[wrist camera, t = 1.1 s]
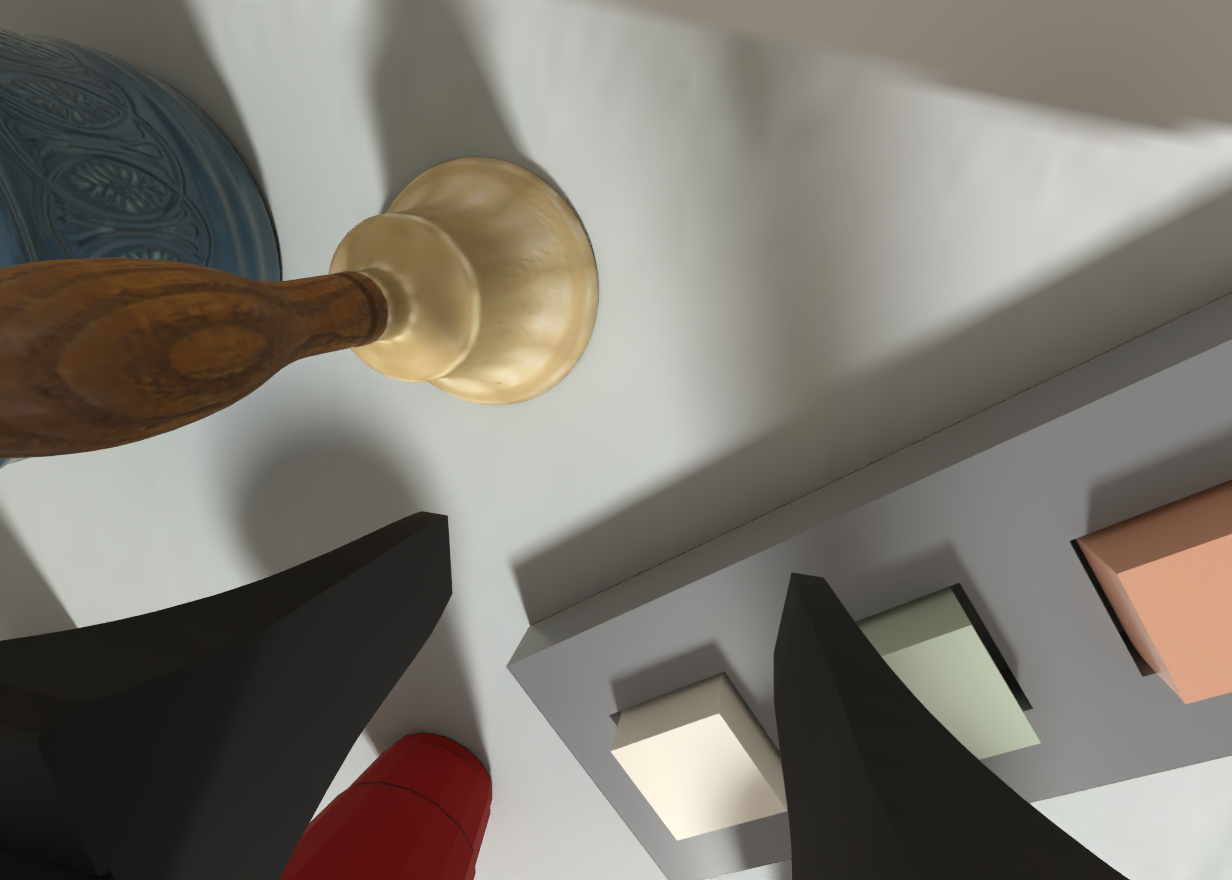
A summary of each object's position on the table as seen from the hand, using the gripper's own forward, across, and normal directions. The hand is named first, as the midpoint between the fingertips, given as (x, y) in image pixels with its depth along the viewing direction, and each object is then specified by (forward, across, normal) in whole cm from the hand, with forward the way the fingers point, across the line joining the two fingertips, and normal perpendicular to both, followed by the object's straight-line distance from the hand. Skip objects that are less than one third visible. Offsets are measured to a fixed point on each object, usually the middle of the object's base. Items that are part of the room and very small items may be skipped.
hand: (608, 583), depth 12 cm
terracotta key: (+7, -15, +1) cm, 17 cm away
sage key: (+7, -9, +6) cm, 13 cm away
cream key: (+7, -3, +11) cm, 13 cm away
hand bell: (+10, +7, -4) cm, 13 cm away
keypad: (+9, -9, +6) cm, 14 cm away
